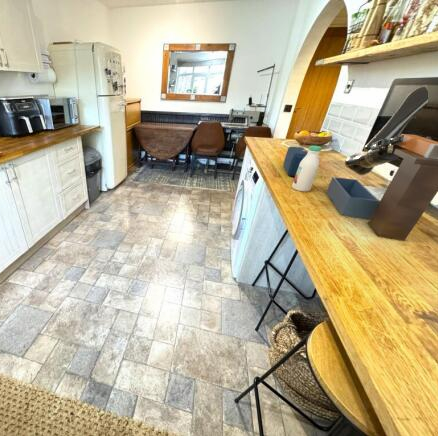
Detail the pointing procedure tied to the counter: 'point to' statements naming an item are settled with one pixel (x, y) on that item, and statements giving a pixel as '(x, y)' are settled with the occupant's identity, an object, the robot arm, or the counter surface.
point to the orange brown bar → (420, 145)
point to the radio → (294, 159)
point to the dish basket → (352, 198)
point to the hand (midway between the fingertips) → (415, 138)
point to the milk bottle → (307, 170)
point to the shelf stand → (406, 196)
